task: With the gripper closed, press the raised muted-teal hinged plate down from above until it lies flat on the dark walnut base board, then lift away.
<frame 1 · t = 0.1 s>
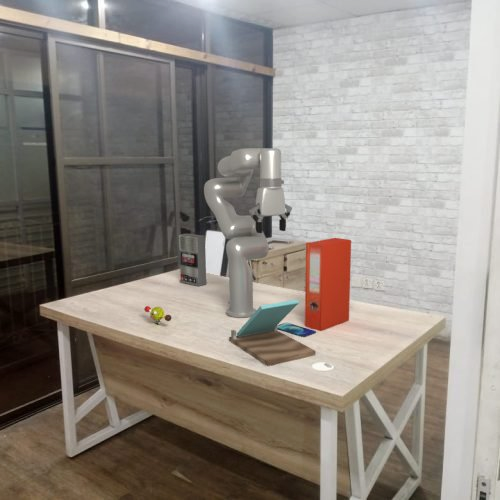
hand: (271, 231, 187), 37 cm above the table, tool pointing down, fingers open, 9 cm apart
smartphone: (294, 331, 193), on the table
press base: (270, 347, 175), on the table
file binder: (327, 324, 200), on the table
molecule model: (157, 324, 202), on the table
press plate: (266, 319, 176), point 9 cm above the table, hinge at 40.0°
cassette tape recorder: (192, 284, 267), on the table
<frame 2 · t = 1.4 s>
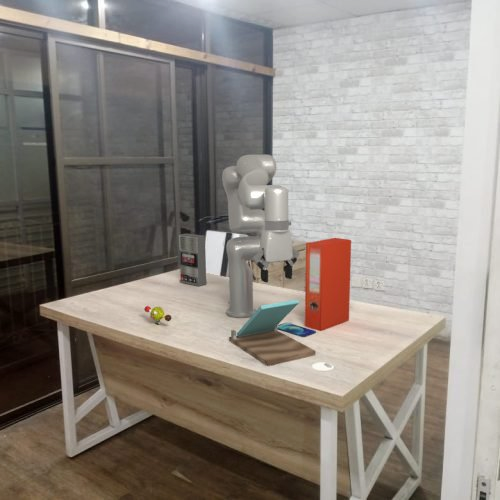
hand: (276, 279, 168), 24 cm above the table, tool pointing down, fingers open, 8 cm apart
nothing on the table moved.
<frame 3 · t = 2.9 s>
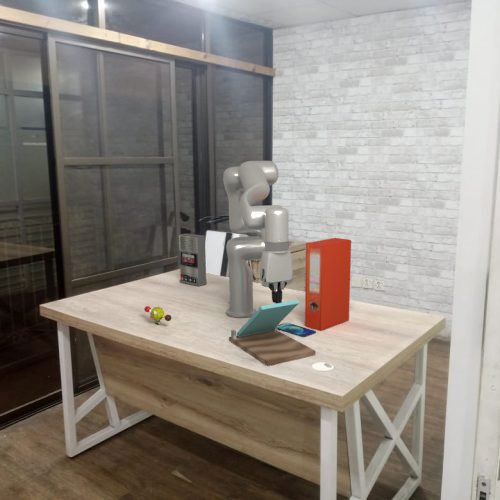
hand: (277, 302, 169), 17 cm above the table, tool pointing down, fingers closed
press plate: (266, 319, 176), point 9 cm above the table, hinge at 39.6°, touching gripper
everything else where it was.
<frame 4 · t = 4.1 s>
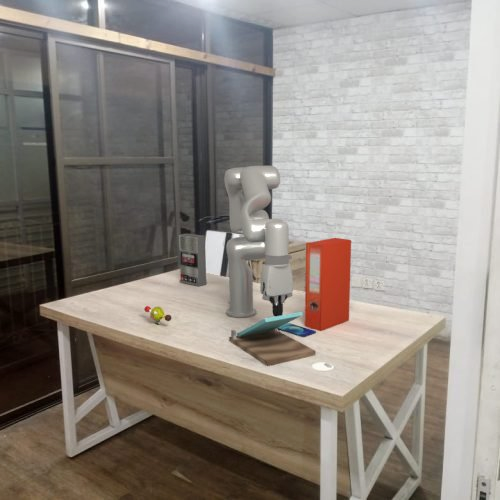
hand: (277, 315, 169), 12 cm above the table, tool pointing down, fingers closed
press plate: (268, 325, 175), point 8 cm above the table, hinge at 28.9°, touching gripper
everything else where it was.
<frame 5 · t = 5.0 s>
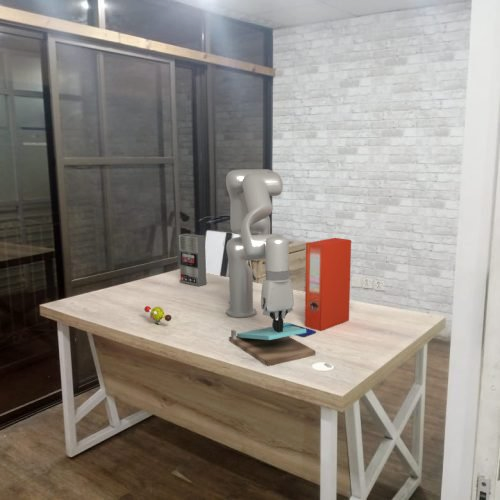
hand: (278, 331, 169), 7 cm above the table, tool pointing down, fingers closed
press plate: (269, 333, 175), point 5 cm above the table, hinge at 14.6°, touching gripper
everything else where it was.
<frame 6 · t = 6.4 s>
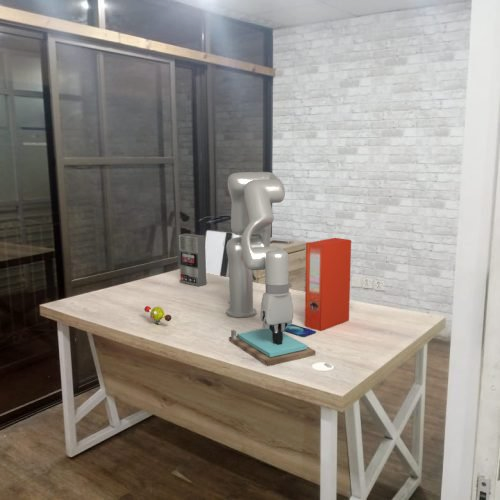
hand: (277, 343, 171), 3 cm above the table, tool pointing down, fingers closed
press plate: (270, 340, 175), point 2 cm above the table, hinge at 0.6°, touching gripper
everything else where it was.
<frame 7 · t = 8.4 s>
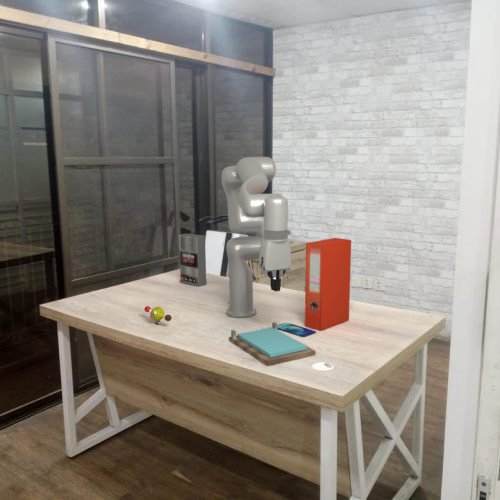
hand: (275, 290, 171), 20 cm above the table, tool pointing down, fingers closed
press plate: (270, 340, 175), point 2 cm above the table, hinge at 0.3°
everything else where it was.
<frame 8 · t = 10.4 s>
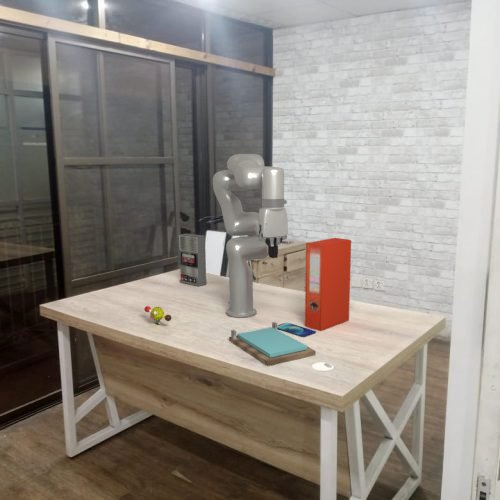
hand: (273, 257, 180), 29 cm above the table, tool pointing down, fingers closed
nothing on the table moved.
at the end: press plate at +0° (first picture: +40°); the gripper is holding nothing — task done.
